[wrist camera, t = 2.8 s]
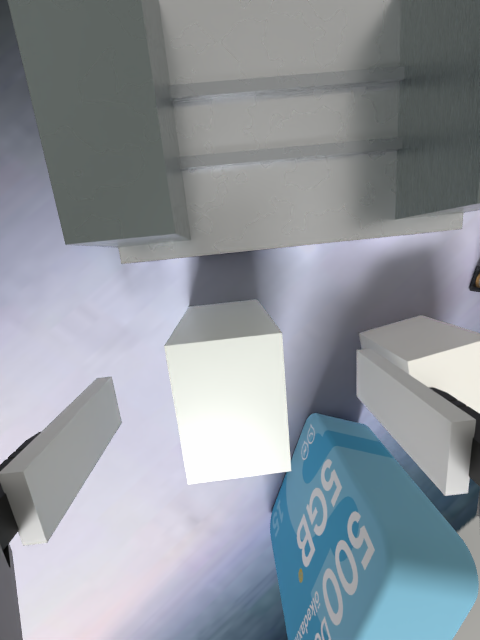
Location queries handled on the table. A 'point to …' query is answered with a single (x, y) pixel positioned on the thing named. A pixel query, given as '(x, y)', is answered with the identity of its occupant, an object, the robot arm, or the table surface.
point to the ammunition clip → (476, 281)
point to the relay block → (432, 354)
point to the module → (229, 392)
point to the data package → (364, 544)
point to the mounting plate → (253, 120)
